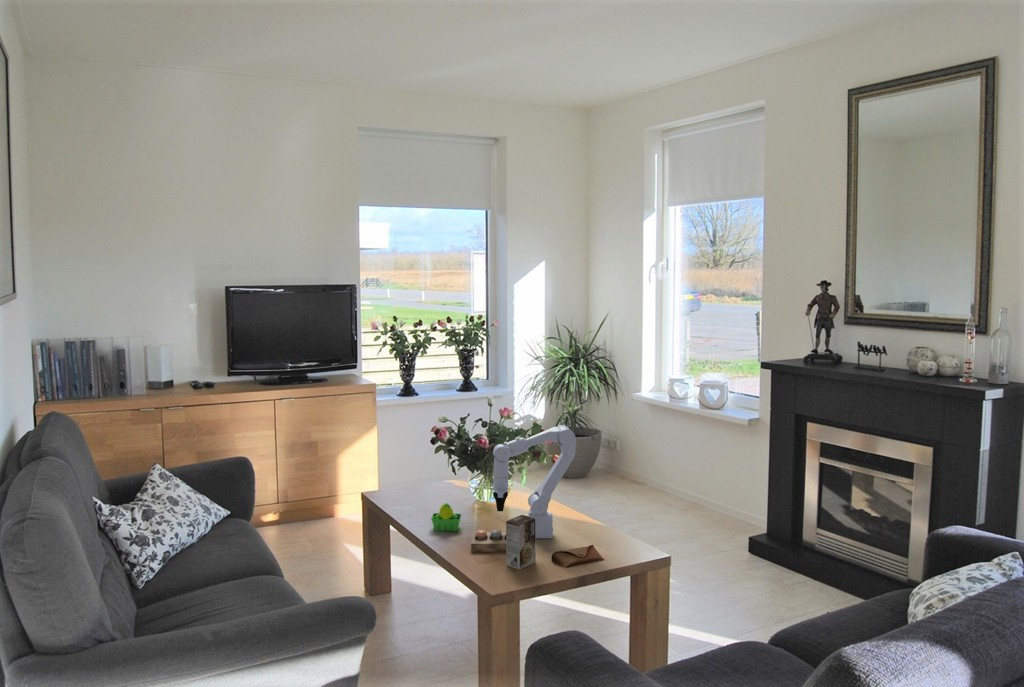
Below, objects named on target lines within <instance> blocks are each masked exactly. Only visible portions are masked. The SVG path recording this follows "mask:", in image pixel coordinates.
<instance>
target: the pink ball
mask: <svg viewBox="0 0 1024 687" xmlns="http://www.w3.org/2000/svg"><path fill="white" fill-rule="evenodd" d="M475 532H476V537H477V538H478V540H485V537H487V532H488V531H487V530H485V529H478V530H475Z"/></svg>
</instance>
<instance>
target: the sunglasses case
mask: <svg viewBox="0 0 1024 687" xmlns="http://www.w3.org/2000/svg"><path fill="white" fill-rule="evenodd" d="M599 560H600V561H605V558H604V557H602V555H601V554H600V553H599V551H598V550H597V548H596V547H595V545H594V544H591V545H587V546H581V547H575V548H571V549H566V550H558V551H554V552H553V553H552V555H551V562H552V563H554V564H556V565H558V566H560V567H561V568H564V569H568V568H570V567H574V566H579V565H583V564H588V563H594V562H600V561H599ZM593 561H594V562H593Z"/></svg>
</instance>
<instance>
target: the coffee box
mask: <svg viewBox="0 0 1024 687" xmlns="http://www.w3.org/2000/svg"><path fill="white" fill-rule="evenodd" d="M505 522H506V523H505V525H506V530H505V531H506V551H505V552H506V566H507V567H510V568H513V569H516V570H522V569H525V568H526V567H528V566H530V565H532V564H534V563H536V562H537V561H536V552H537V550H536V547H537V546H536V538H535V518H531V517H529V515H524V514H520V515H518V516H515V517H513V518H511V519H508V520H506V521H505Z"/></svg>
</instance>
